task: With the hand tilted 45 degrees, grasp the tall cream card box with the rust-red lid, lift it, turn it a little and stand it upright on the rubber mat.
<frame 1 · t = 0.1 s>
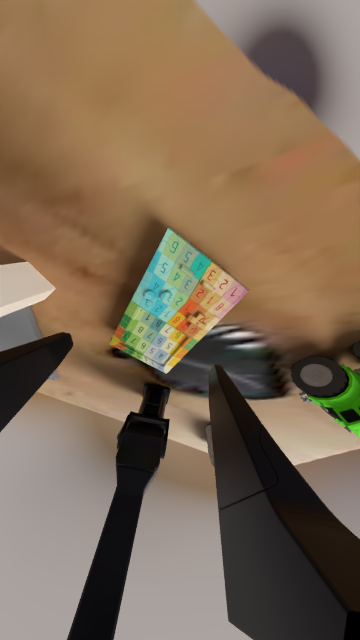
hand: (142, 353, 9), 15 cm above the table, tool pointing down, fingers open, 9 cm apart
toy tractor: (333, 364, 26), on the table
card box: (36, 282, 23), on the table
mineral rock: (214, 432, 44), on the table
mat: (12, 335, 30), on the table
puzzle game: (171, 309, 24), on the table
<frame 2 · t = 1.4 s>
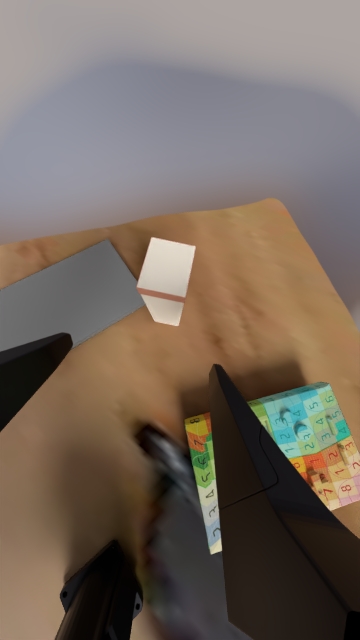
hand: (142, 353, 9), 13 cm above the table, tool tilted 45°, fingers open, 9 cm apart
card box: (169, 309, 23), on the table
mat: (63, 306, 23), on the table
puzzle game: (258, 437, 20), on the table
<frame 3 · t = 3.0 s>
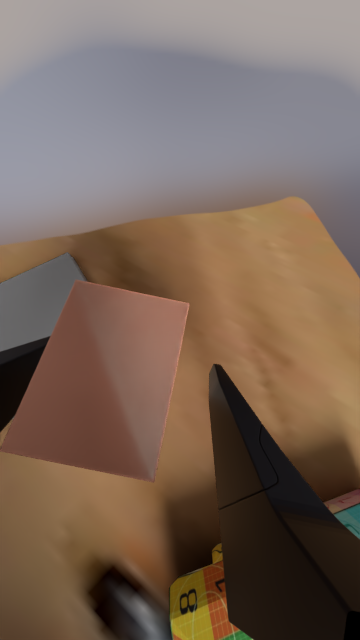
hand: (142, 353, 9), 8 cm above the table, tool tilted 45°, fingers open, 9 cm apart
card box: (154, 358, 16), on the table
puzzle game: (293, 580, 12), on the table
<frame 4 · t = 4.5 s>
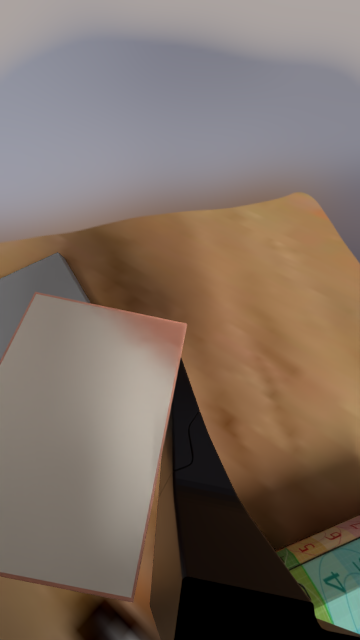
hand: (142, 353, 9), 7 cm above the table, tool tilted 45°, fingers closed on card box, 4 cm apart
card box: (151, 367, 15), on the table, touching gripper
puzzle game: (302, 613, 11), on the table
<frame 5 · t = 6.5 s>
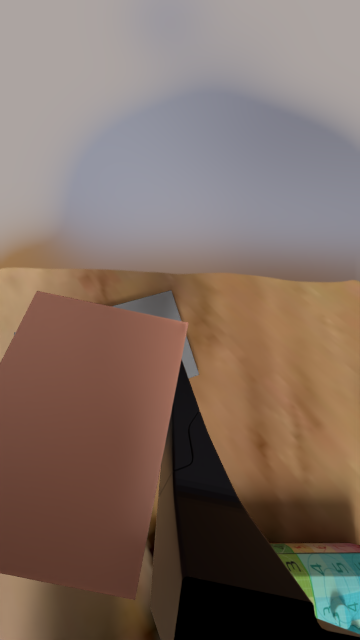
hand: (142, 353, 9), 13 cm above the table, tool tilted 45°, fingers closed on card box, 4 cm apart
card box: (151, 366, 15), point 7 cm above the table, touching gripper
mat: (109, 353, 21), on the table
puzzle game: (284, 589, 17), on the table
when the fingers open (8 cm above the table, at t = 8.8 s): card box stays where it is, resting on mat.
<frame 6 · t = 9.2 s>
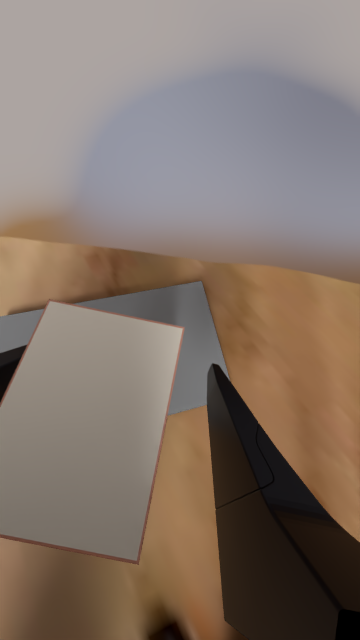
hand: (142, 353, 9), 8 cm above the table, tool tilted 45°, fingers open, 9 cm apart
card box: (152, 366, 15), point 1 cm above the table, touching mat
mat: (116, 356, 16), on the table
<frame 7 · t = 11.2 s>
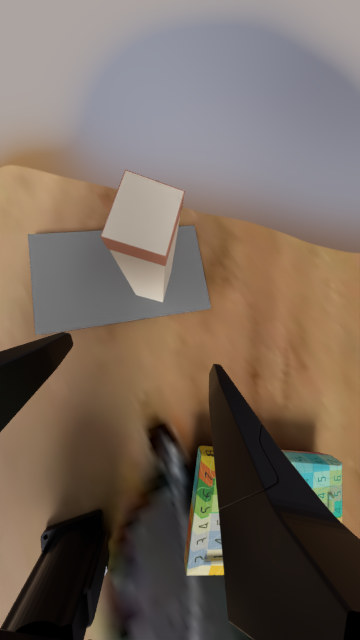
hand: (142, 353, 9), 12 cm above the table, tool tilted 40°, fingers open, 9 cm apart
card box: (154, 283, 21), point 1 cm above the table, touching mat
mat: (126, 276, 21), on the table
puzzle game: (251, 479, 21), on the table
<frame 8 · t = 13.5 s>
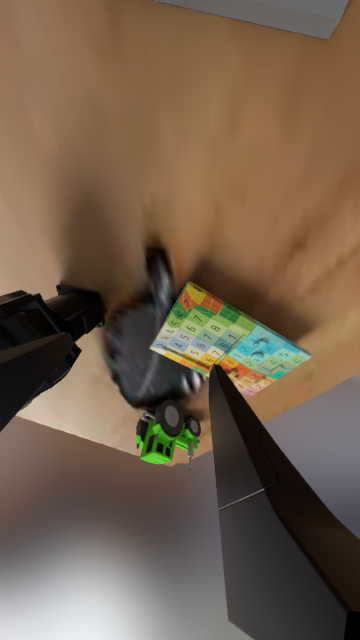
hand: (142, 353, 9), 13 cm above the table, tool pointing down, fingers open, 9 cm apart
toy tractor: (172, 412, 37), on the table
puzzle game: (222, 336, 24), on the table
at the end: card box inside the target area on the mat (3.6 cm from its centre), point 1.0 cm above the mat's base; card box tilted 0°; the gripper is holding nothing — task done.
